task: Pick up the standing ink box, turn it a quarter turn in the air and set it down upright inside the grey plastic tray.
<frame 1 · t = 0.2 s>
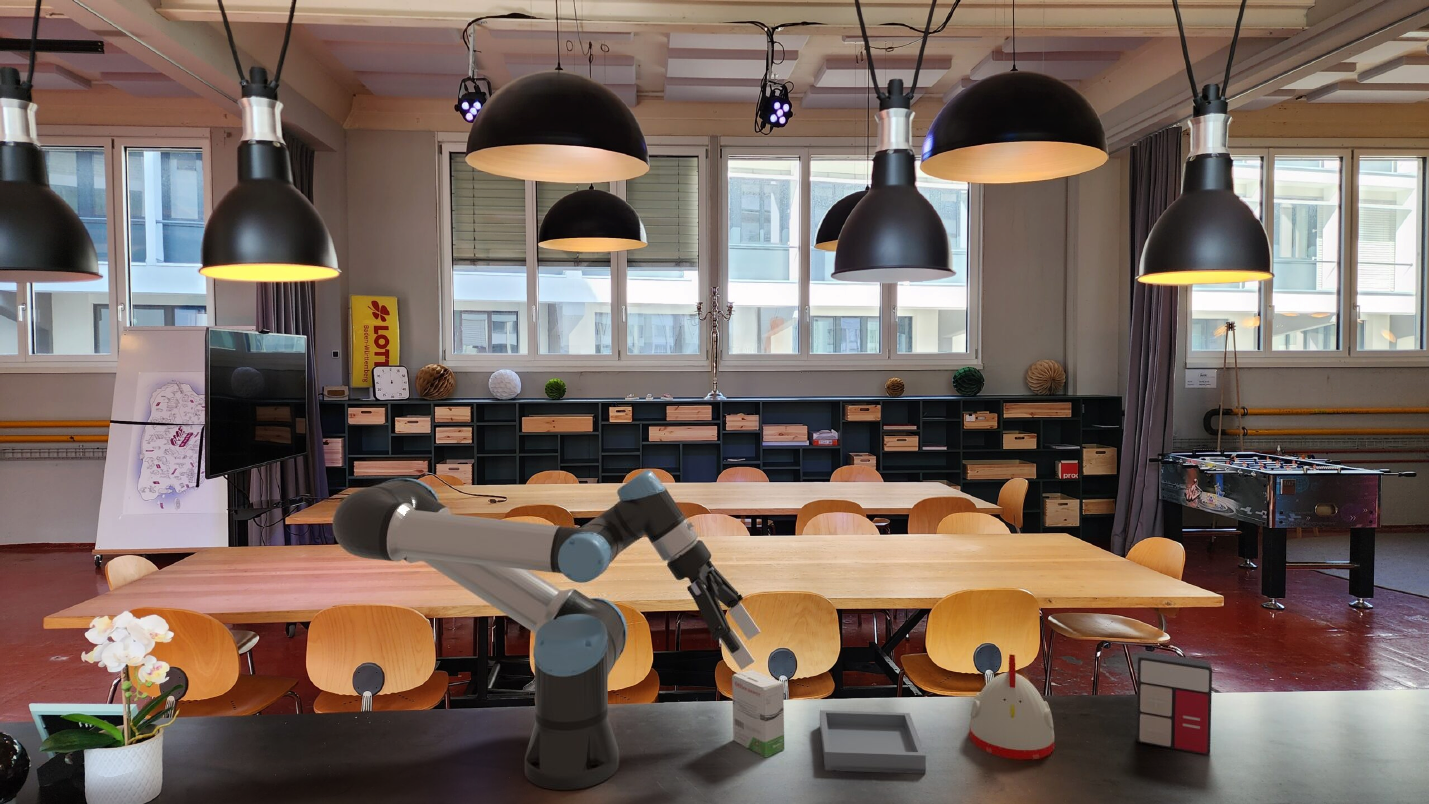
hand: (751, 649, 142), 15 cm above the table, tool tilted 35°, fingers open, 13 cm apart
ink box: (757, 746, 139), on the table
kitchen timer: (1011, 741, 141), on the table
tray: (869, 748, 138), on the table
calculator: (1172, 746, 139), on the table
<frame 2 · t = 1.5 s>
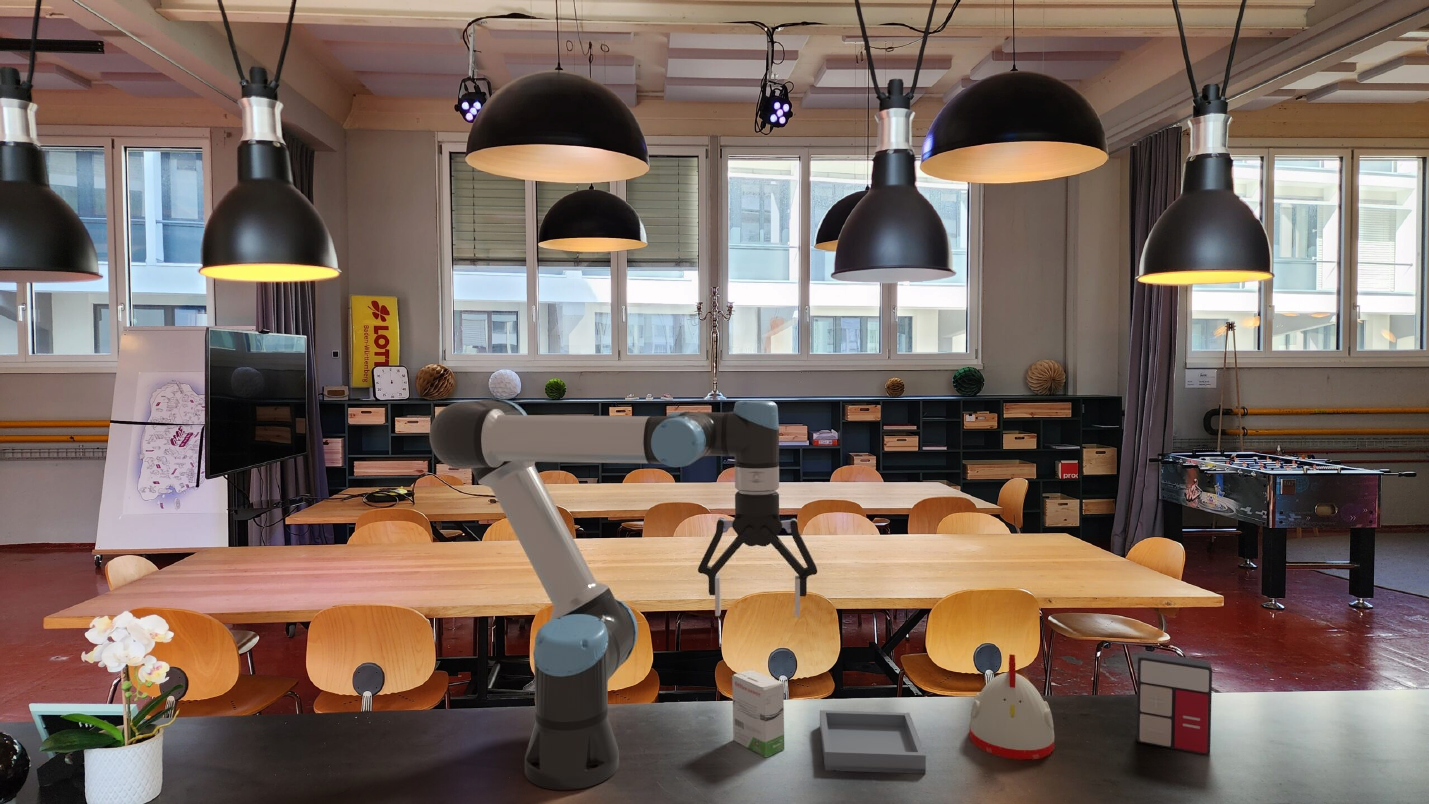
hand: (757, 614, 138), 23 cm above the table, tool pointing down, fingers open, 13 cm apart
nothing on the table moved.
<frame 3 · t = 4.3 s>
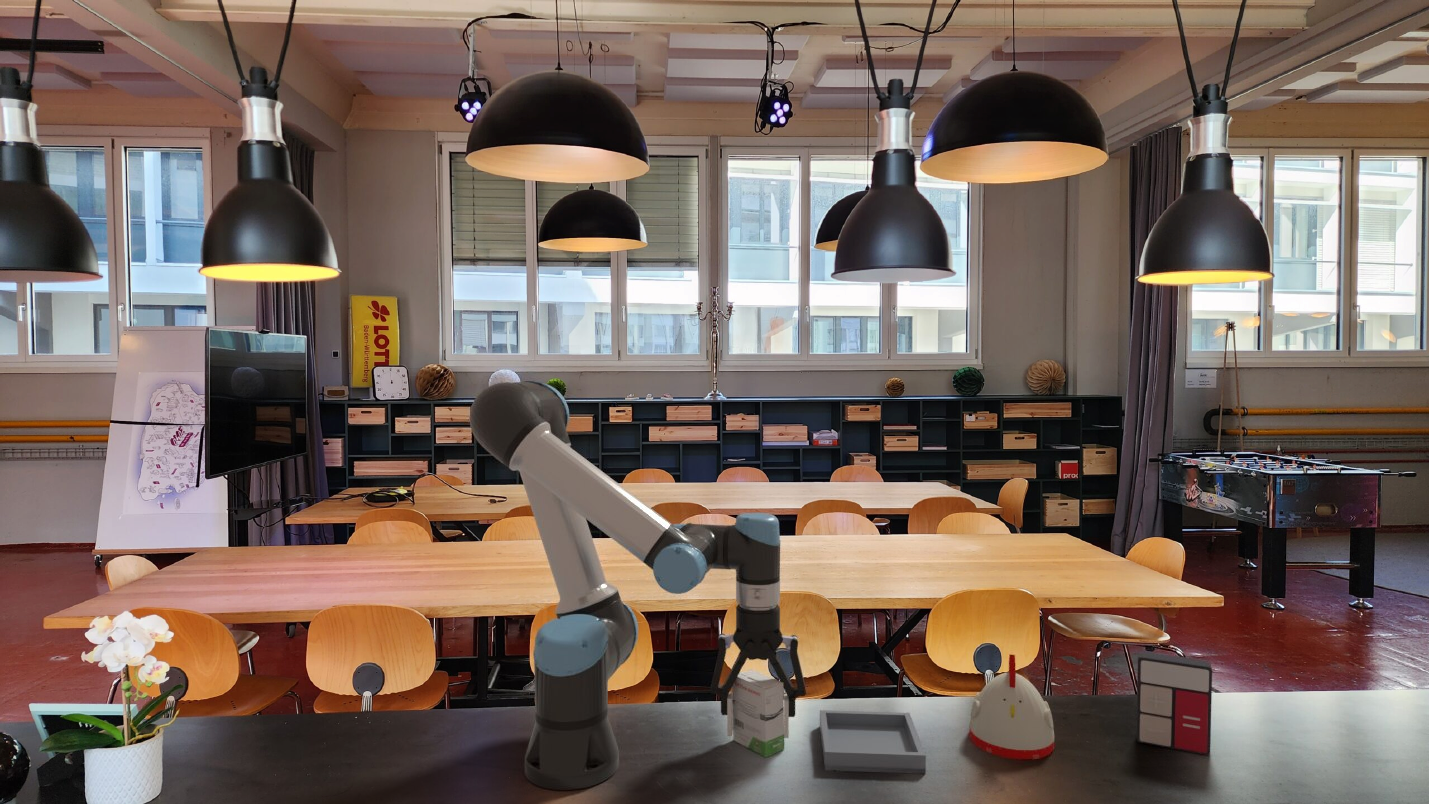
hand: (758, 733, 139), 2 cm above the table, tool pointing down, fingers closed on ink box, 9 cm apart
ink box: (757, 745, 139), on the table, touching gripper
everything else where it was.
when the fingers open (4 cm above the table, at t = 10.7 s): ink box drops 1 cm, resting on tray.
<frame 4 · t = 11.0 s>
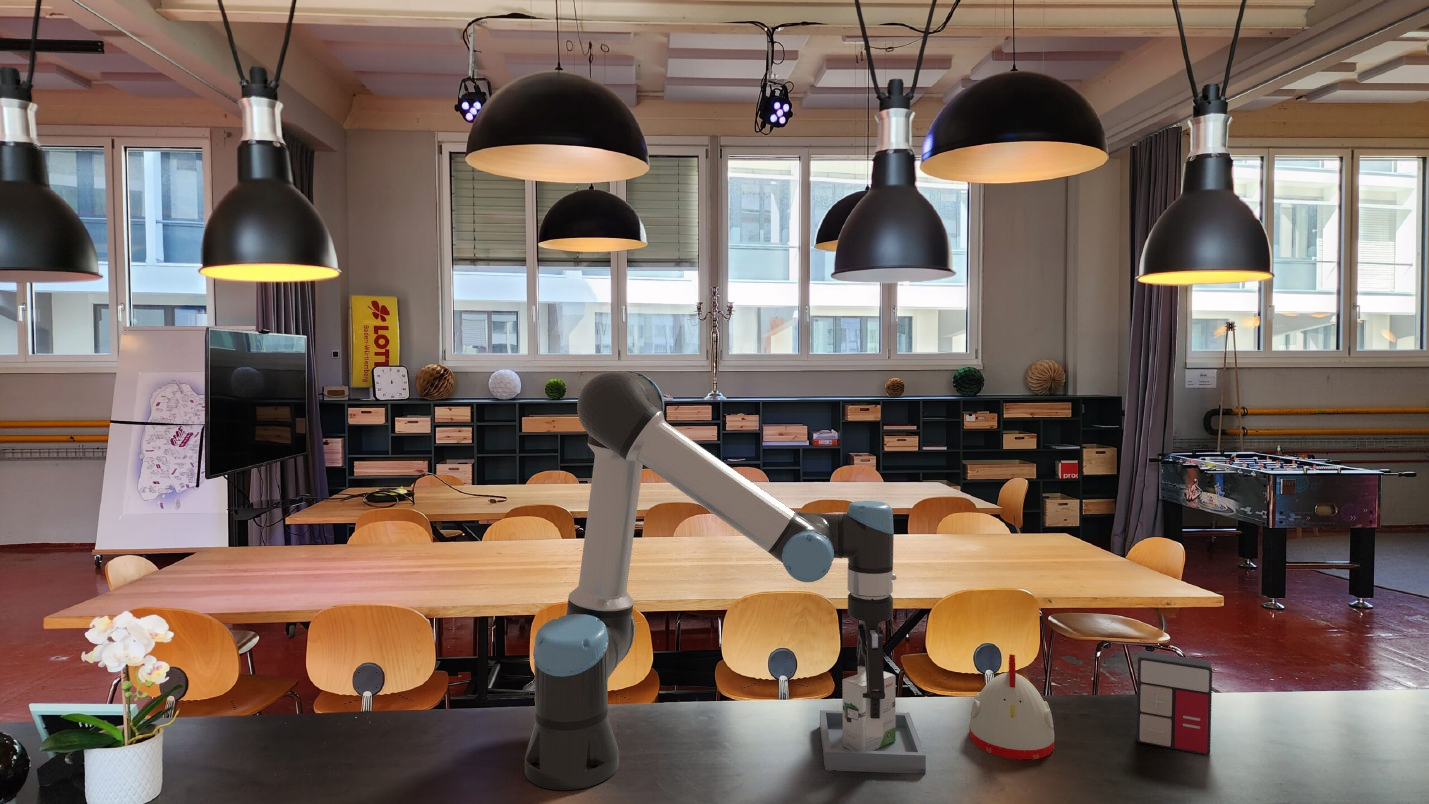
hand: (869, 718, 138), 5 cm above the table, tool pointing down, fingers open, 12 cm apart
ink box: (869, 745, 138), point 1 cm above the table, touching tray
everything else where it was.
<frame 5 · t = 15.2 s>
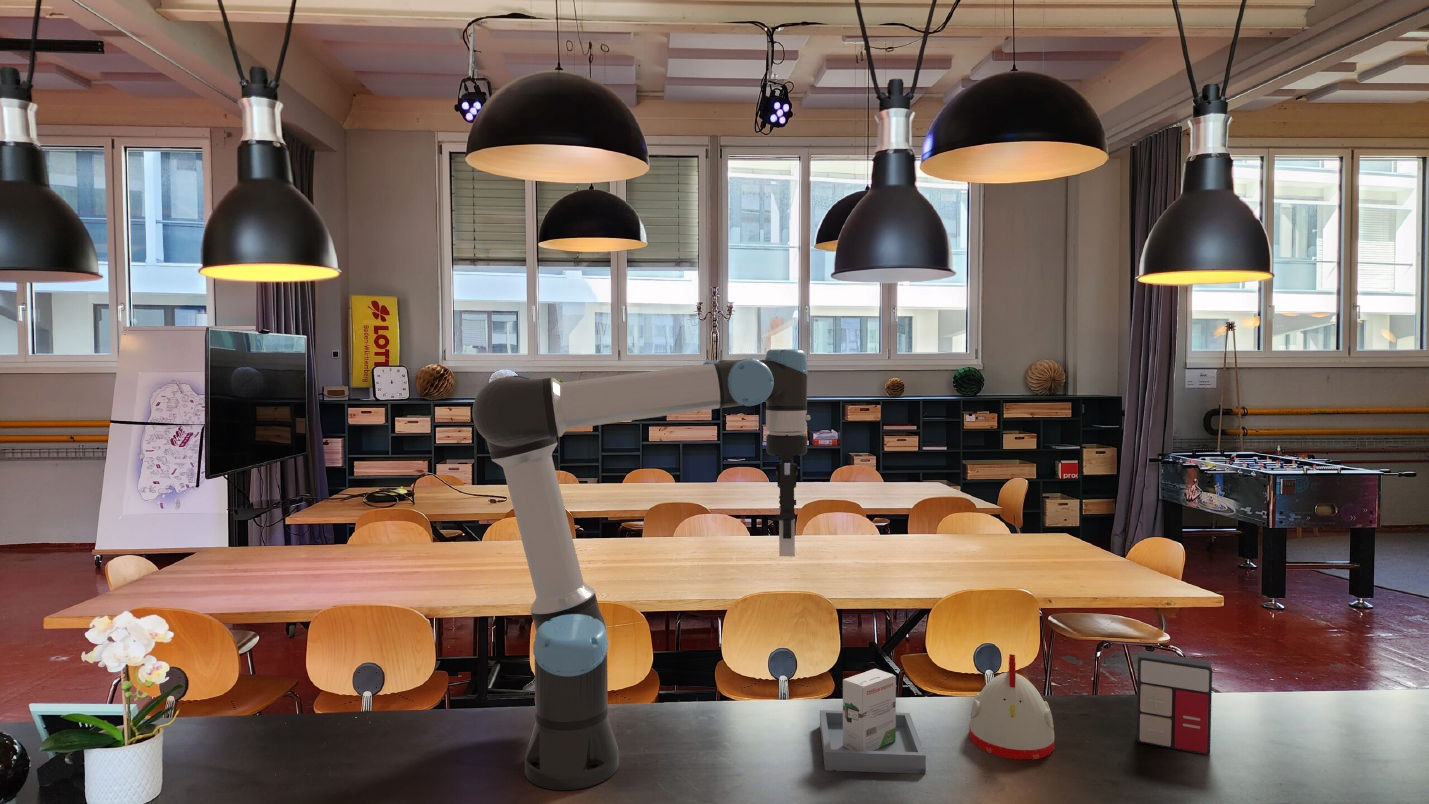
hand: (786, 547, 150), 32 cm above the table, tool pointing down, fingers open, 13 cm apart
nothing on the table moved.
at the end: ink box inside the target area on the tray (0.1 cm from its centre), point 0.6 cm above the tray's base; ink box tilted 0°; the gripper is holding nothing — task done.
